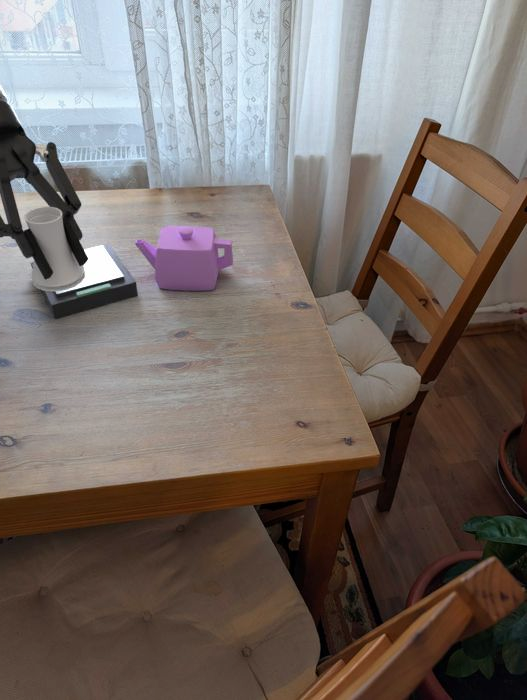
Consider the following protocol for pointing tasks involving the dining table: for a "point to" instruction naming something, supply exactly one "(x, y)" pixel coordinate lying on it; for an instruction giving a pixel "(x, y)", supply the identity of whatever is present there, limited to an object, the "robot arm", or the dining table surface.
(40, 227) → the vase
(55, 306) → the scale
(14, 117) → the robot arm
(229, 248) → the teapot
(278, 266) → the dining table surface
